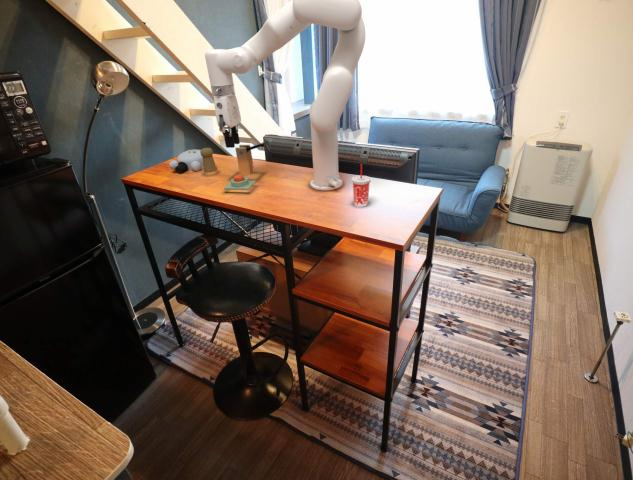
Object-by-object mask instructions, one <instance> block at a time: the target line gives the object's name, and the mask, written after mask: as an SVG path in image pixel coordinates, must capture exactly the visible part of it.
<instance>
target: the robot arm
mask: <svg viewBox="0 0 633 480" xmlns="http://www.w3.org/2000/svg"><path fill="white" fill-rule="evenodd" d="M362 11H363V9H362V5H361V3H360V1H359V0H288V2H286V3H285V4H284V5H283V6H282V7H280V8H279V9H278V10H277V11H275V12H274V13H273V14H271V15H270V16H269V17H268V18H267V19H266V20H265V22H264V23H263V25H262V26H261V28H260V29H259V30H258V32H256V33H255V34H254V35H253V36H252V37H250V38H249V39H248V40H247V41H246V42H244V43H243V44H242V45H241V46H236V47H233V48H229V49H225V48H216V49H215V48H214V49H213V48H212V49H207V50H206V51H205V53H204V58H205V63H206V69H207V75H208V79H209V84H210V89H211V95H212V97H213V103H214V104H213V105H214V113H215V119H216V123H217V126H218V127H219V128H218V130H219V132H220V133H221V134H222V136H223V138H224V144H225V148H232V149H233V148H236V147H235V146H236V145H241V141H240V135H239V128H238V127H239V125H240V123H242V116H241V112H240V106H239V102H238V99H237V96H236V89H235V84H234V78H233V77H234V76H233V74H236V75H243V74H244V75H245V74H246V73H249V72H250V71H252V70H253V69H254V68H256V67H257V66H259V65H260V64H261V63H262V62H264V60H266V59H268V57H270V56H271V55H273V54H274V53H275V52H277V51H278V50H280V49H283V47H284V46H286V45H287V44H288V43H290V42H291V41H292V40H294V38H295V37H297V36H298V35H300V34H301V33H302V32H303V31H305V30H306V29H307V28H308V27H310V26H311V25H317V26H320V27H321V26H322V27H327V28H333V29H336V30H337V32H338V37H337V42H336V45H335V47H334V51H333V54H332V56H331V57H330V61H329V63H328V66H327V68H326V70H325V71H324V73H323V76H322V81H321V84H320V87H319V89H318V91H317V95H316V97H315V99H314V100H313V101H312V103H311V104H310V105H309V106H310V107H309V122H310V139H311V156H312V171H313V172H312V173H313V179H311V180H310V181H309V185H310V186H309V187H310V188H312V189H314V190H316V191H334V190H337V189H339V188H341V187H342V186H343V184H344V182H343V179H341V177H340V176H341V175H340V174H339V173H340V172H339V134H338V133H339V132H338V123H339V121H340V119H341V117H342V114H343V112H344V110H345V108H346V107H347V103H348V101H349V99H350V96H351V94H352V91H353V88H354V78H353V77H354V73H355V72H356V69H357V66H358V65H359V61H360V58H361V56H362V54H363V51H364V47H365V43H366V27H365V21H364V19H363V17H362V13H363V12H362Z"/></svg>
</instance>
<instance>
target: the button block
mask: <svg viewBox="0 0 633 480" xmlns="http://www.w3.org/2000/svg"><path fill="white" fill-rule="evenodd" d="M256 183H257V181H256V180H249V178H248V177H246V176H244V181H240V182H235V180H234V177H233V178H231V179H230V181H229V183H227V184H226V185H225V186H224V187H223V190H225V191H224V194H242V195H243V194H245V195H249V194H251V192H249V191H250V190H251V189H252V188H253V187H254V185H255V184H256ZM243 191H245V192H243Z"/></svg>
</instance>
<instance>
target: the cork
mask: <svg viewBox="0 0 633 480" xmlns="http://www.w3.org/2000/svg"><path fill="white" fill-rule="evenodd" d="M200 150H201V151H200V154H201V156H202V157H203V166H204V167H203V172H204V173H214V172H216V171H218V168H217V164H216V162H215V160H214V156H213V155H214V151H213V149H212V148H210V147H204V148H201V149H200Z"/></svg>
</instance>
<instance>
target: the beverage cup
mask: <svg viewBox="0 0 633 480" xmlns="http://www.w3.org/2000/svg"><path fill="white" fill-rule="evenodd" d="M351 183H352V192H353V193H352V194H353V205H354V206H355V207H357V208H363V207H367V206H368V205H369V194H370V183H371V177H370V176H367V175H363V163H360V175H355V176H352V178H351Z"/></svg>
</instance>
